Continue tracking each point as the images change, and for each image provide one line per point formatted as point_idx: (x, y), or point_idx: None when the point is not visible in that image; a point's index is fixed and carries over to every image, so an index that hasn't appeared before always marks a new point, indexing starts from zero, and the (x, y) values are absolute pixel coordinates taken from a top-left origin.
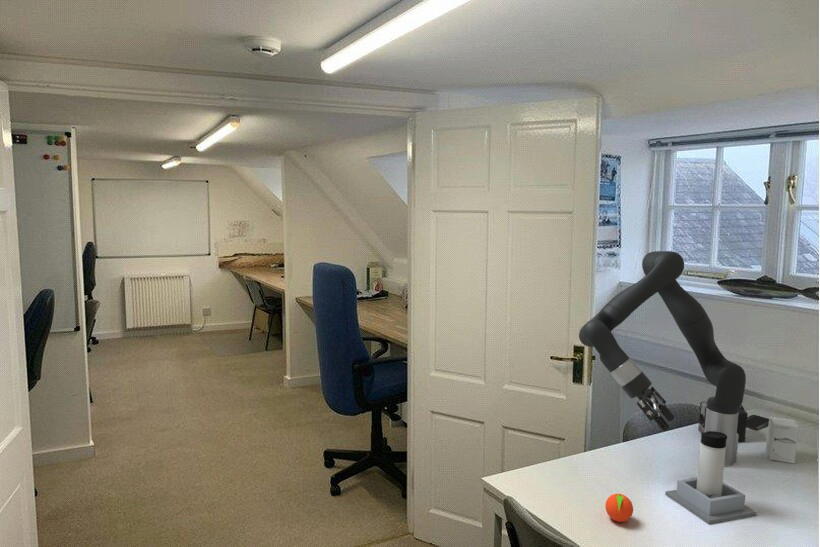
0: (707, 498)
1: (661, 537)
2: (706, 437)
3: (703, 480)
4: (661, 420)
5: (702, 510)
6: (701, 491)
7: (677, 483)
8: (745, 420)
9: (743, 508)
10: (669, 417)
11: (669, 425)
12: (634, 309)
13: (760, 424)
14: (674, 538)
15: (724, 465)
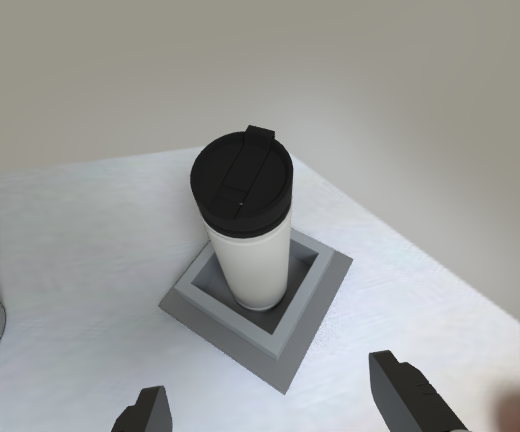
0: (325, 258)
1: (506, 326)
2: (290, 189)
3: (287, 268)
4: (452, 411)
5: (320, 281)
6: (285, 284)
7: (276, 356)
8: None
9: None
10: (162, 428)
11: (373, 354)
12: None
13: None
14: (479, 301)
15: (3, 309)
